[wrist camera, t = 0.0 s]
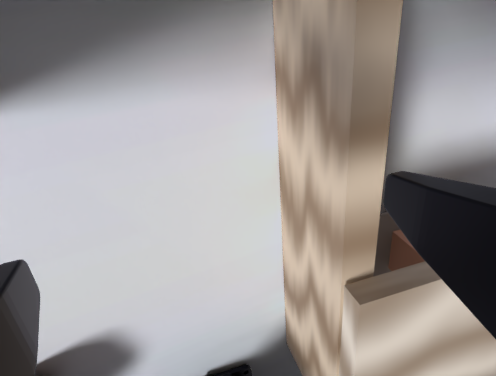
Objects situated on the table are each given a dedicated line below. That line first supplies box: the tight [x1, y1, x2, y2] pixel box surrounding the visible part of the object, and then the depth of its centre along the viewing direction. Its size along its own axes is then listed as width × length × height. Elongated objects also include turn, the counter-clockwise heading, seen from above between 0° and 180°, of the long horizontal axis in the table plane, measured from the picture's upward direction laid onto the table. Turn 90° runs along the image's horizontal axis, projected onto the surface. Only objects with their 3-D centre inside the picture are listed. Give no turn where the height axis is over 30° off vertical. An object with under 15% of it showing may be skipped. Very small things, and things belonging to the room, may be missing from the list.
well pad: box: [373, 212, 400, 277], centre depth 34 cm, size 8×8×1 cm
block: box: [388, 230, 425, 271], centre depth 31 cm, size 4×4×7 cm
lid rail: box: [273, 0, 403, 376], centre depth 23 cm, size 34×2×9 cm, turn 5°
